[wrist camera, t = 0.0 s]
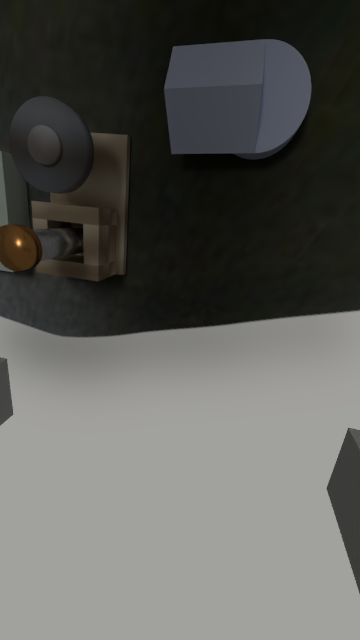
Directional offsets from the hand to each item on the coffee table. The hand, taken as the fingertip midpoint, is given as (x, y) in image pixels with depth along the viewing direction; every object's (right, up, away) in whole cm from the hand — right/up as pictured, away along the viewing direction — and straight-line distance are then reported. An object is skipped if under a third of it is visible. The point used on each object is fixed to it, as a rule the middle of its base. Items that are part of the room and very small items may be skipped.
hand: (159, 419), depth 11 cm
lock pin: (-11, +14, +27) cm, 32 cm away
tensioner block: (-11, +19, +26) cm, 34 cm away
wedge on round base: (+7, +26, +20) cm, 34 cm away
